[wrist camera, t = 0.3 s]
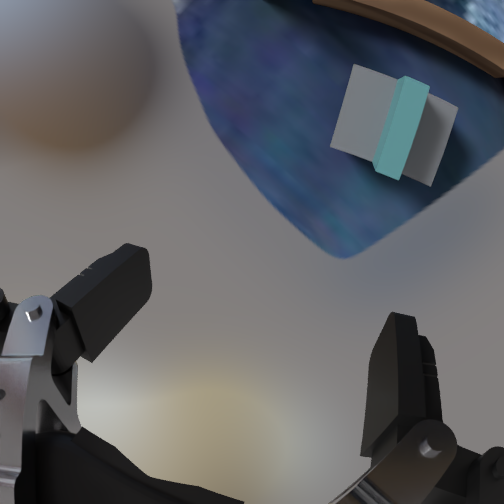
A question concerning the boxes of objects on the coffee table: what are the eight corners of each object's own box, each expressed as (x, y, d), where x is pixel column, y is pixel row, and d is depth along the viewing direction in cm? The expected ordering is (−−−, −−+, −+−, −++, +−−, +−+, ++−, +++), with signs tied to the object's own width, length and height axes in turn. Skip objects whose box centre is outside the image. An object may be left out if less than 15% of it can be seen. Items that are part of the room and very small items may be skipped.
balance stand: (353, 72, 27) (354, 57, 18) (437, 106, 26) (474, 109, 17) (333, 138, 32) (326, 153, 22) (416, 170, 30) (441, 199, 21)
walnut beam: (319, -17, 23) (313, -33, 19) (498, 57, 20) (517, 53, 16) (313, 4, 25) (307, -11, 21) (494, 78, 22) (513, 76, 17)
